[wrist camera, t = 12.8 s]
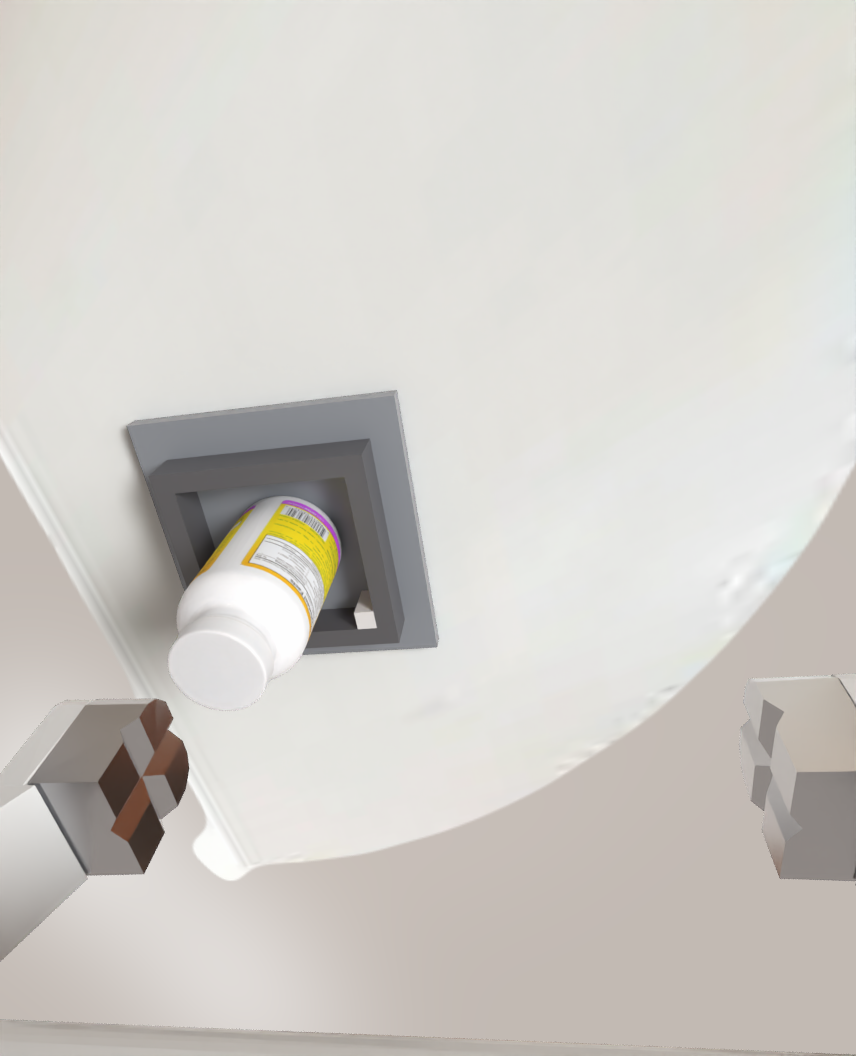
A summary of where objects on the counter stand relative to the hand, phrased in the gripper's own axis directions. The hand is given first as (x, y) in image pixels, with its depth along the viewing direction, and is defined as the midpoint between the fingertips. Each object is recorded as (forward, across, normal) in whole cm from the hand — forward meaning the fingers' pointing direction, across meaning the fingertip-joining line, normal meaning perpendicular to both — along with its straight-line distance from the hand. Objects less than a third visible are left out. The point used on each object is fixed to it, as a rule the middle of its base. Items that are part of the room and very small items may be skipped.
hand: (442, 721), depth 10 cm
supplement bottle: (+30, +13, +13) cm, 35 cm away
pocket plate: (+30, +14, +13) cm, 36 cm away
